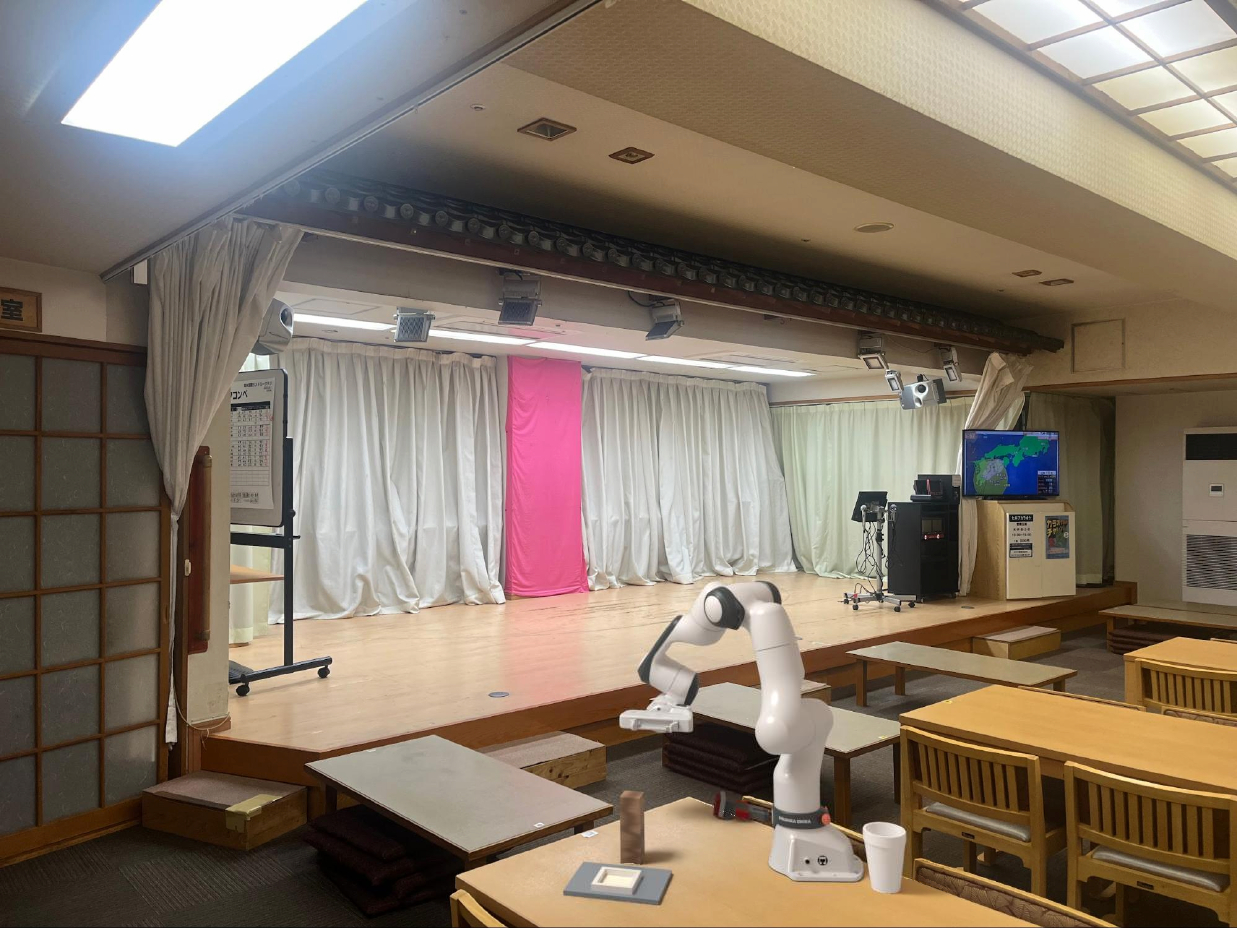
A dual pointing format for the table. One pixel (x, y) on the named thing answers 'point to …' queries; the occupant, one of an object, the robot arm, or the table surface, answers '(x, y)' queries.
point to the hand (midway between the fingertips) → (651, 728)
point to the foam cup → (885, 855)
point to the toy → (737, 809)
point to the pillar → (632, 827)
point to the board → (644, 892)
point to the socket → (616, 880)
